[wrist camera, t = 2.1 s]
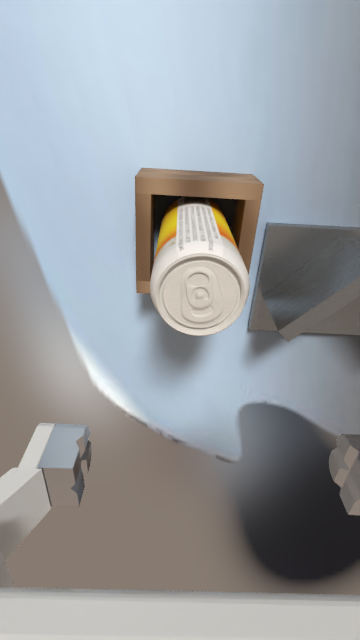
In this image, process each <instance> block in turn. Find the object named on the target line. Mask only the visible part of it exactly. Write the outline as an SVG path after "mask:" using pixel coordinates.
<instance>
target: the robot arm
mask: <svg viewBox="0 0 360 640" xmlns="http://www.w3.org/2000/svg"><path fill="white" fill-rule="evenodd" d="M89 434H90V432H89V426H87V425H70V424H52V423H40V424H39V425H38V426H37V427H36V430H35V432H34V434H33V436H32V438H31V440H30V443H29V445H28V447H27V450H26V451H25V453H24V456H23V458H22V460H21V462H20V464H19V466H18V468H12V469H11V470H9V471H8V472H7V473H6V474H4V475H3V476H2V477H1V478H0V640H360V595H327V594H285V593H283V594H282V593H242V592H198V591H197V592H194V591H154V590H111V589H109V590H108V589H67V588H23V587H12V586H13V580H12V578H11V575H10V572H9V570H8V567H7V565H6V562H5V560H6V559H7V558H8V557H9V555H10V554H11V553H12V552H13V551H14V550H15V549H16V548H17V546H18V545H19V544H20V543H21V542H22V541H23V540H24V539H25V537H26V536H27V535H28V534H29V533H30V532H31V531H32V529H33V528H34V527H35V526H36V525H37V524H38V523H39V522H40V520H41V519H42V518H43V517H44V516H45V515H46V514H47V512H48V511H49V510H50V509H51V507H79V506H80V501H81V498H82V494H83V490H84V478H83V477H84V476H85V475H86V474H87V473H88V471H89V467H90V461H91V442H89V441H88V438H89ZM336 444H337V446H338V447H337V448H336V449H334V450H333V451H332V452H331V455H330V458H329V467H330V472H331V475H332V478H333V480H334V482H336V483H337V484H338V485H339V486H340V487H341V491H340V497H341V499H342V501H343V504H344V506H345V508H346V511H347V513H348V515H360V435H349V434H341V435H340V436H338V438H337V441H336Z"/></svg>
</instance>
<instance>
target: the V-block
mask: <svg viewBox="0 0 360 640" xmlns="http://www.w3.org/2000/svg"><path fill="white" fill-rule="evenodd" d="M248 326H249V329H250V330H262V331H279V332H280V334H281V335H282V336H283V337H284V338H285V339H286V340H287V341H288V342H289V341H290V340H292V339H293V338H295V337H296V336H298V335H300V334H301V333H324V334H345V335H360V228H355V227H337V226H319V225H301V224H283V223H267V226H266V231H265V237H264V242H263V247H262V253H261V258H260V264H259V269H258V275H257V280H256V285H255V291H254V296H253V302H252V307H251V313H250V318H249V323H248Z"/></svg>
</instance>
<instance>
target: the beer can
mask: <svg viewBox="0 0 360 640" xmlns="http://www.w3.org/2000/svg"><path fill="white" fill-rule="evenodd" d="M249 289H250V281H249V275H248V272H247V269H246V267H245V264H244V262H243V260H242V257H241V255H240V253H239V250H238V248H237V245H236V243H235V241H234V238H233V236H232V234H231V231H230V229H229V226H228V224H227V222H226V219H225V217H224V215H223V212H222V211H221V209H220V208H219V206H218V205H217V204H216V203H215V202H213V201H212V200H210V199H209V198H206V197H191V196H184V197H181V198H179V199H177V200H176V201H174V202H173V203H172V204H171V205H170V206H169V207H168V208H167V210H166V211H165V213H164V215H163V218H162V222H161V228H160V233H159V238H158V244H157V249H156V254H155V259H154V265H153V270H152V275H151V281H150V294H151V299H152V302H153V304H154V306H155V308H156V310H157V311H158V313H159V314H160V315H161V317H162V318H163V319H164V321H165V322H166V323H167V324H168V325H169V326H171V327H172V328H174V329H175V330H177V331H179V332H182V333H184V334H188V335H194V336H205V335H211V334H214V333H217V332H220V331H222V330H224V329H225V328H227V327H229V326H230V325H231V324H232V323H233V322H234V321H235V320H236V319H237V318H238V317H239V315H240V314H241V312H242V310H243V307H244V305H245V303H246V301H247V298H248V295H249Z"/></svg>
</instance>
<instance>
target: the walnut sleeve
mask: <svg viewBox="0 0 360 640" xmlns="http://www.w3.org/2000/svg"><path fill="white" fill-rule="evenodd" d="M263 186H264V184H263V183H262V182H261V181H259V180H258V179H257V178H256V177H255V176H253V175H252V174H236V173H219V172H202V171H185V170H168V169H152V168H141V170H140V171H139V172H138V174H137V175H136V176H135V207H136V286H137V293H147V294H150V281H151V275H152V270H153V265H154V226H155V194H156V195H174V196H191V197H209V198H226V199H235V206H234V214H233V221H232V229H231V234H232V236H233V238H234V241H235V243H236V245H237V248H238V250H239V253H240V255H241V257H242V260H243V262H244V264H245V267H246V269H247V272H248V275H249V269H250V263H251V257H252V251H253V245H254V239H255V233H256V227H257V222H258V216H259V210H260V204H261V198H262V192H263Z"/></svg>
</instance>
